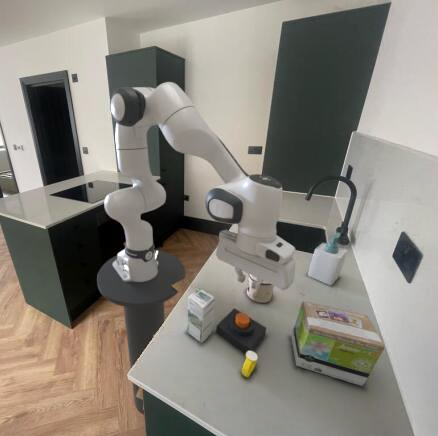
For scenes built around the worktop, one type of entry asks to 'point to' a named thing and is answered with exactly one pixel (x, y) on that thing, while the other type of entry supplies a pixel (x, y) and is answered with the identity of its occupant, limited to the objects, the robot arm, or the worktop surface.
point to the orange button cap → (242, 320)
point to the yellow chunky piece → (249, 363)
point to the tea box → (335, 342)
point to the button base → (240, 332)
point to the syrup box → (200, 314)
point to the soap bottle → (327, 261)
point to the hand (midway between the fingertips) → (248, 284)
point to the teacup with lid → (259, 290)
